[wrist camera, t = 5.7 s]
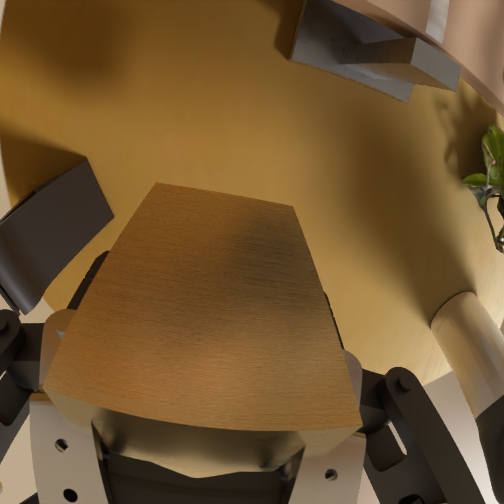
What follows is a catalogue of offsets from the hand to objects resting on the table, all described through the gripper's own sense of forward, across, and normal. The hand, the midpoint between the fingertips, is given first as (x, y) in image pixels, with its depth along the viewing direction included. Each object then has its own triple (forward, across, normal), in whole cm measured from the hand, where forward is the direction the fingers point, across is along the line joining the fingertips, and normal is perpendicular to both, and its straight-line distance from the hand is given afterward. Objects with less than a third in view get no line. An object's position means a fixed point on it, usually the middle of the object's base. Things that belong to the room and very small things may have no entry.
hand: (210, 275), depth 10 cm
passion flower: (+15, -27, -6) cm, 32 cm away
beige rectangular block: (+1, 0, 0) cm, 1 cm away
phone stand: (+15, +15, +6) cm, 22 cm away
